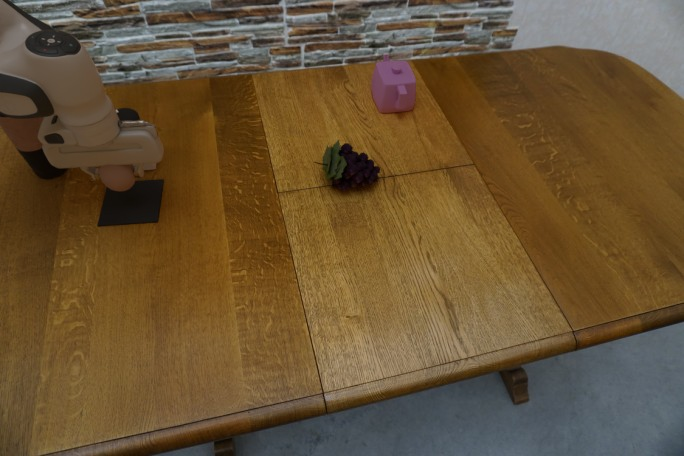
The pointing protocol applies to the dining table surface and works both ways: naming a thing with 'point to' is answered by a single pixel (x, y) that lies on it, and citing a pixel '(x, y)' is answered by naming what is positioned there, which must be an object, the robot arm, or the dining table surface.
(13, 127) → the travel mug
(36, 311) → the dining table surface
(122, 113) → the container
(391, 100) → the teapot
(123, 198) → the mat
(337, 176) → the fruit
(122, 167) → the egg
